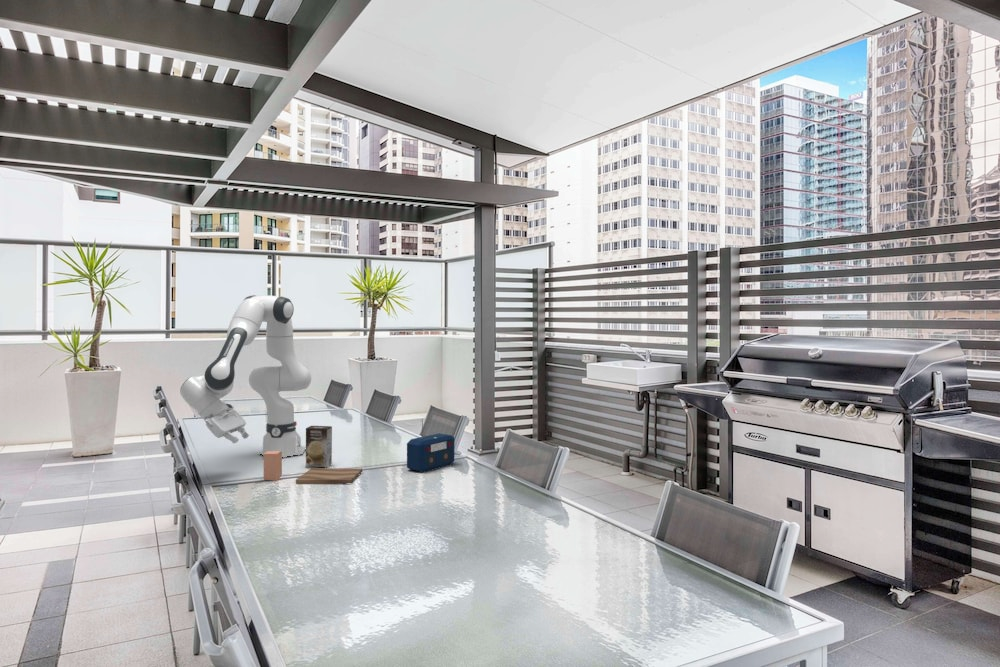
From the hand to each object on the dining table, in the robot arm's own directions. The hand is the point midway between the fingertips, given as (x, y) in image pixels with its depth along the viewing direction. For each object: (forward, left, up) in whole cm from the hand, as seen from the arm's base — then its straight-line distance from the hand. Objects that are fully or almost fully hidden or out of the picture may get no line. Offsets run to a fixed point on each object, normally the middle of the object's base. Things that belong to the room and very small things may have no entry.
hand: (241, 439), depth 239 cm
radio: (-20, +68, -15) cm, 73 cm away
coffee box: (-21, +22, -15) cm, 34 cm away
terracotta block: (0, +11, -15) cm, 19 cm away
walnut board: (-2, +32, -15) cm, 36 cm away
